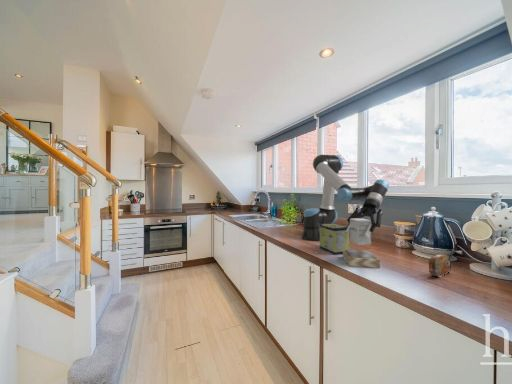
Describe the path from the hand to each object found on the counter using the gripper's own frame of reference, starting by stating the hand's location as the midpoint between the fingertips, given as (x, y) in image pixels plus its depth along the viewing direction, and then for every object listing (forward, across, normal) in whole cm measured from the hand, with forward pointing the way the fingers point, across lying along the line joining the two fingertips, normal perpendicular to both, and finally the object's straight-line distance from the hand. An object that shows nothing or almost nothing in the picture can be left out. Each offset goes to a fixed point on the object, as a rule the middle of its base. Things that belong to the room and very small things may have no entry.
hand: (356, 234), depth 105 cm
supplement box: (+1, 0, -6) cm, 6 cm away
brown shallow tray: (+8, 0, -13) cm, 15 cm away
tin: (-1, -28, -23) cm, 36 cm away
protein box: (+4, +21, -17) cm, 27 cm away
